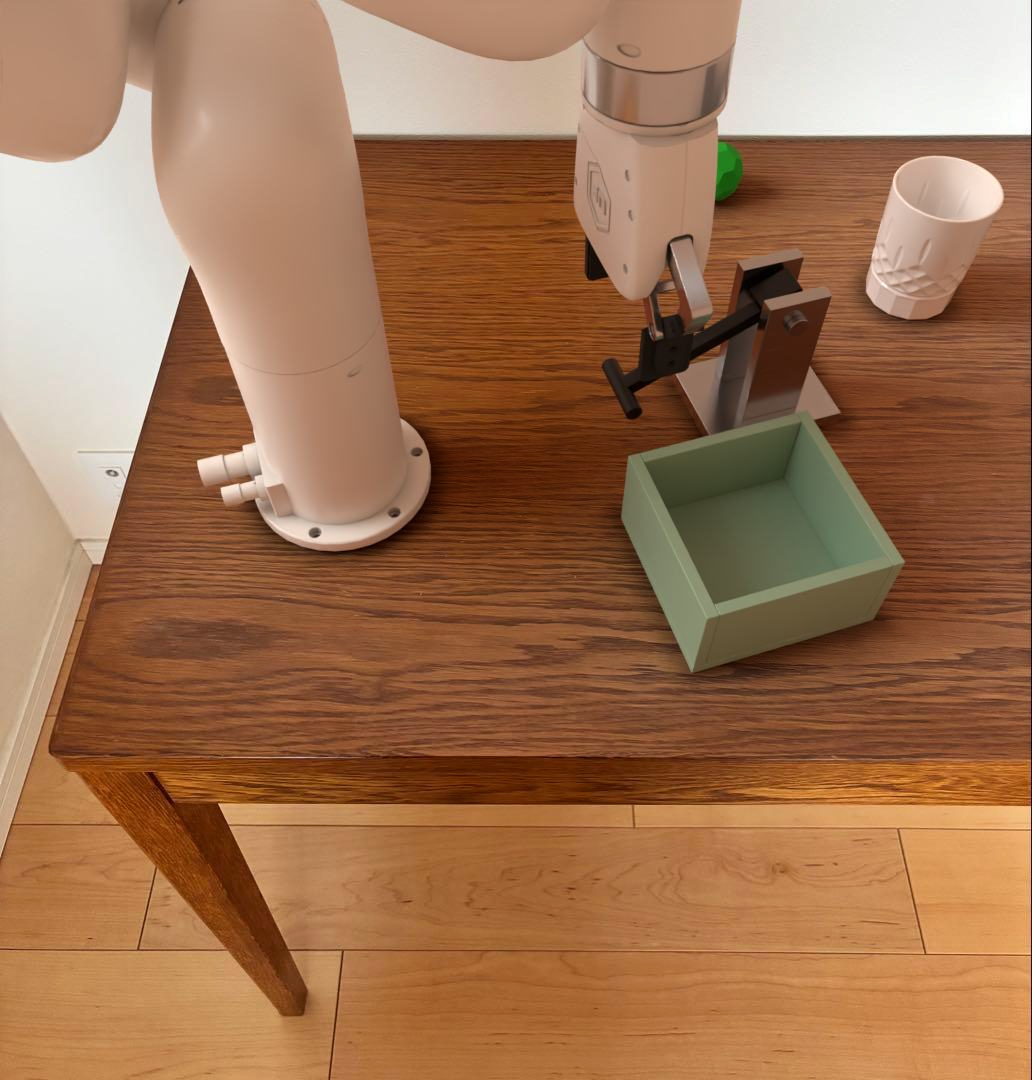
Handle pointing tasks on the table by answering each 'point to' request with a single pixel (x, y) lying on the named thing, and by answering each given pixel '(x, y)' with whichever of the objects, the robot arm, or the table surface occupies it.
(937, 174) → the white cup
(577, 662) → the table surface
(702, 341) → the lever
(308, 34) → the robot arm
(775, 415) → the bracket
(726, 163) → the polyhedron
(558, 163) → the table surface
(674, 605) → the bin
